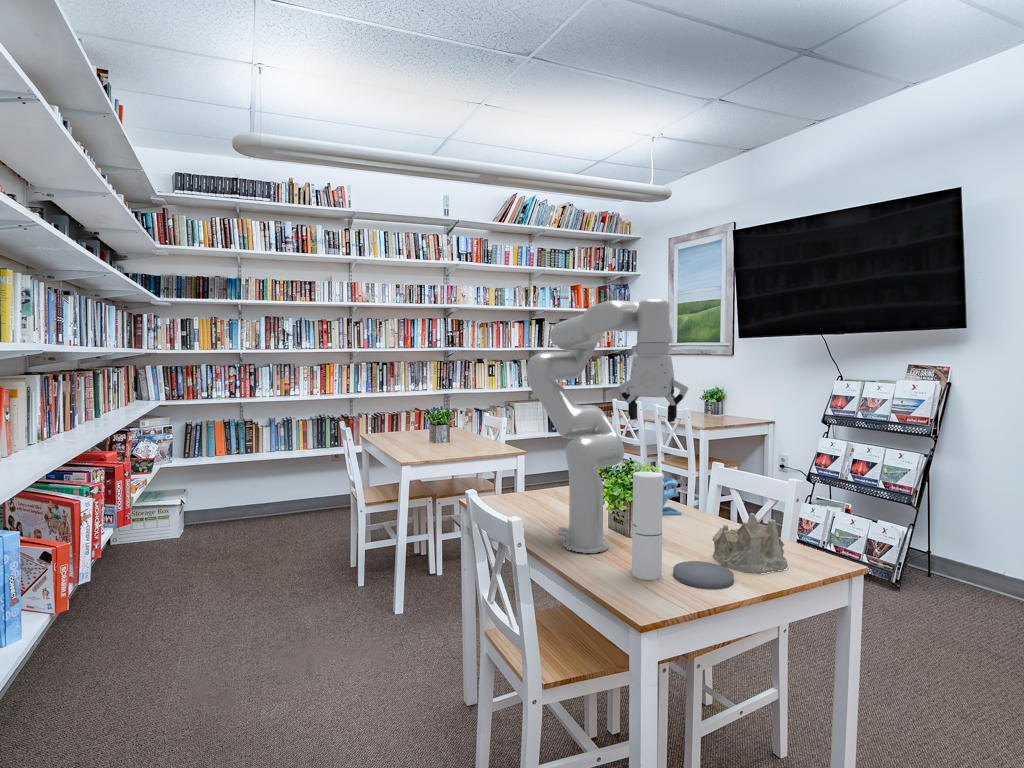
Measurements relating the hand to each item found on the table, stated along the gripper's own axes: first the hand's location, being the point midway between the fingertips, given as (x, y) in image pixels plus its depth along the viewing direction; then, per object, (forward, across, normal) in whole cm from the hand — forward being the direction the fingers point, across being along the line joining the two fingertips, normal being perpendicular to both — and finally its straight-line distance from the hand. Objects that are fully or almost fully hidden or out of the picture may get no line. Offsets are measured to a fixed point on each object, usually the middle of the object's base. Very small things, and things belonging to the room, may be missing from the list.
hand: (651, 420), depth 142 cm
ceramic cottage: (+39, +19, +22) cm, 48 cm away
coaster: (+38, +12, +4) cm, 40 cm away
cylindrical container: (+38, 0, -1) cm, 38 cm away
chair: (+38, -16, +56) cm, 70 cm away
